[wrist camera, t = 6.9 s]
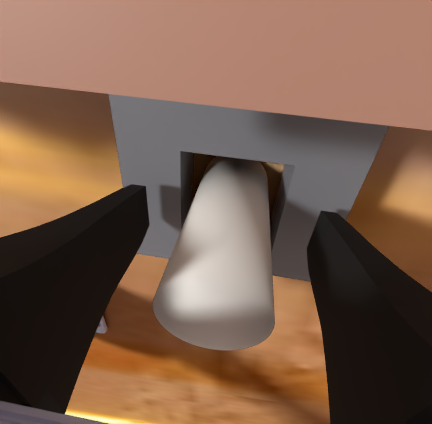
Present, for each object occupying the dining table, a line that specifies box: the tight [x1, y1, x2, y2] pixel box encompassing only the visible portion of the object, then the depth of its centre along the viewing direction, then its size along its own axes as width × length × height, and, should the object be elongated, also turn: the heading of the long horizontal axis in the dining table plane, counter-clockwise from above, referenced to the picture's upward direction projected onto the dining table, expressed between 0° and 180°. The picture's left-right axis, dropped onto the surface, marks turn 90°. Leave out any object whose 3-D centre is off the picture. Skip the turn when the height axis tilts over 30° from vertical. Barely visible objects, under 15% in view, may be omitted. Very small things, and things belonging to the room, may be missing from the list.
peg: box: [153, 156, 275, 350], centre depth 10 cm, size 3×3×8 cm
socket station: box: [0, 0, 432, 281], centre depth 8 cm, size 14×10×8 cm
